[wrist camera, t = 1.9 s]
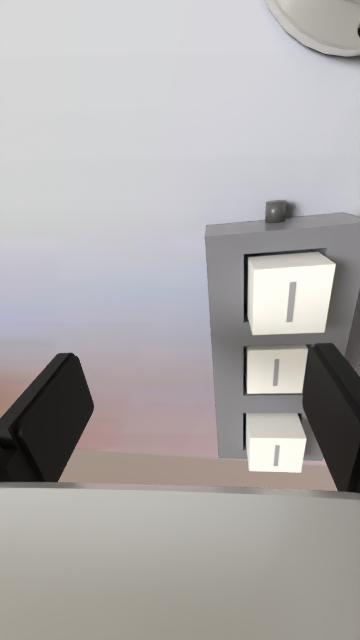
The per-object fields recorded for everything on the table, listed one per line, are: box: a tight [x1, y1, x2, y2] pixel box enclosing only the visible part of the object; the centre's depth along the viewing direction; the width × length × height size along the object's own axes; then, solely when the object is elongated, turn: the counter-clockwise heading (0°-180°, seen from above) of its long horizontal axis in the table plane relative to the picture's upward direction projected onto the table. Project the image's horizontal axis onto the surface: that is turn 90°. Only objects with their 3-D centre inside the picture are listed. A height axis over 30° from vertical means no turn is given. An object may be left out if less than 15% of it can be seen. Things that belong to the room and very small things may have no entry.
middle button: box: [244, 344, 308, 394], centre depth 20 cm, size 4×4×3 cm
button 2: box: [247, 252, 336, 335], centre depth 16 cm, size 4×4×3 cm
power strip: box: [205, 200, 360, 461], centre depth 21 cm, size 21×9×4 cm, turn 6°
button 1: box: [246, 413, 306, 472], centre depth 22 cm, size 4×4×3 cm
